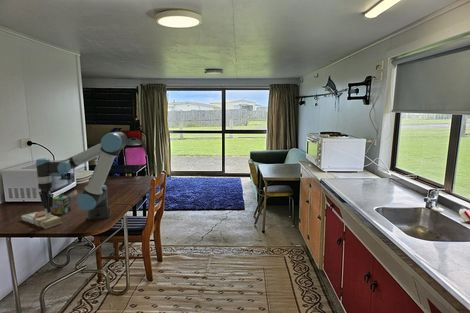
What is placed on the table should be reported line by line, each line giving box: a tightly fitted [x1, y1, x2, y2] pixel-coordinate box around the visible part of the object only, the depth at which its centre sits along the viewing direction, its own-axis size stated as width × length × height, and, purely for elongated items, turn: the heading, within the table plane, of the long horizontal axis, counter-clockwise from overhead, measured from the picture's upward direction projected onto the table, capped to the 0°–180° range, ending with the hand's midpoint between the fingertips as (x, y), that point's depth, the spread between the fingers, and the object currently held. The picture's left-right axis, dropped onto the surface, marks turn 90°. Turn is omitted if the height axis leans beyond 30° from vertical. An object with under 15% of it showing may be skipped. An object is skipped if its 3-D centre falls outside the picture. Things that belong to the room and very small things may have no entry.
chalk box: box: [51, 192, 72, 215], centre depth 216 cm, size 9×9×15 cm
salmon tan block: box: [34, 210, 45, 218], centre depth 198 cm, size 6×5×3 cm
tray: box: [21, 211, 38, 225], centre depth 201 cm, size 16×10×3 cm, turn 61°
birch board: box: [33, 214, 63, 230], centre depth 194 cm, size 14×10×4 cm
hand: (48, 217), depth 193 cm, fingers closed
